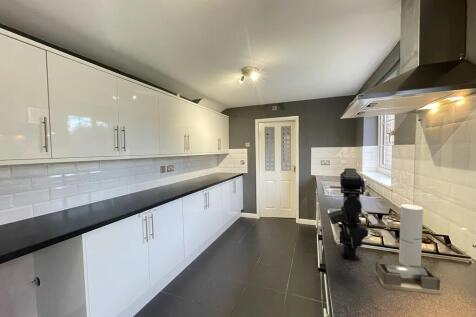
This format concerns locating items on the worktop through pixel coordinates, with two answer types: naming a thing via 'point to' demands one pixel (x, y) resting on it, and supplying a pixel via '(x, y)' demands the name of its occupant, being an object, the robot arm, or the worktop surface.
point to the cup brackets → (424, 282)
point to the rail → (406, 271)
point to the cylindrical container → (410, 235)
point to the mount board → (408, 286)
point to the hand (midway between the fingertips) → (350, 243)
